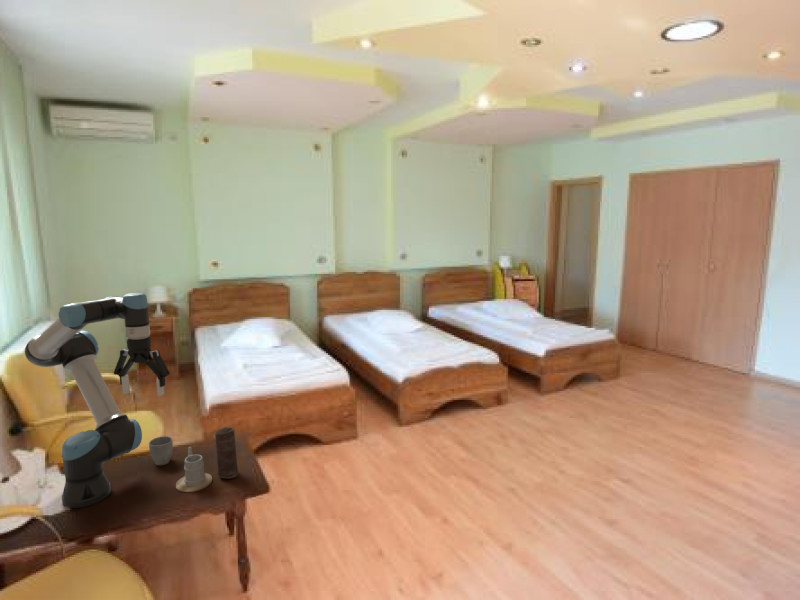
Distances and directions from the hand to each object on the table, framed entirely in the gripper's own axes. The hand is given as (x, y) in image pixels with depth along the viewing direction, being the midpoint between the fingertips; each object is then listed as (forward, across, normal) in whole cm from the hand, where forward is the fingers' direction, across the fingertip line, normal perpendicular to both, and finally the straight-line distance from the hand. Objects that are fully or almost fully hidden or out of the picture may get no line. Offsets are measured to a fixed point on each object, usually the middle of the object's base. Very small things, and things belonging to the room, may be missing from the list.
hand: (143, 394), depth 173 cm
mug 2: (+38, +11, +9) cm, 41 cm away
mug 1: (+39, -11, +22) cm, 46 cm away
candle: (+39, +22, +15) cm, 47 cm away
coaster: (+39, +12, +8) cm, 41 cm away
